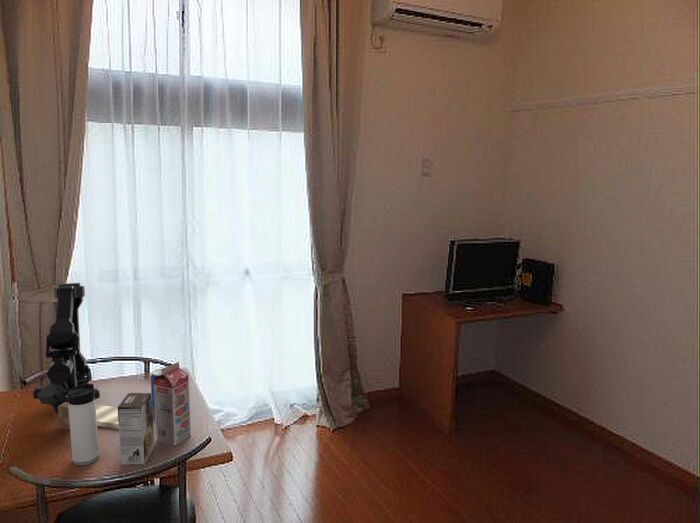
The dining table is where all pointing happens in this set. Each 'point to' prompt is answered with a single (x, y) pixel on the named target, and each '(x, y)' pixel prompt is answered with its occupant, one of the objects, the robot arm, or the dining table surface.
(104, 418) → the board
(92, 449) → the travel mug
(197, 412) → the dining table surface
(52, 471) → the dining table surface
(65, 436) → the dining table surface
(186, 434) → the milk carton
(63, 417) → the block
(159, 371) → the beverage can
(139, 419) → the coffee box
